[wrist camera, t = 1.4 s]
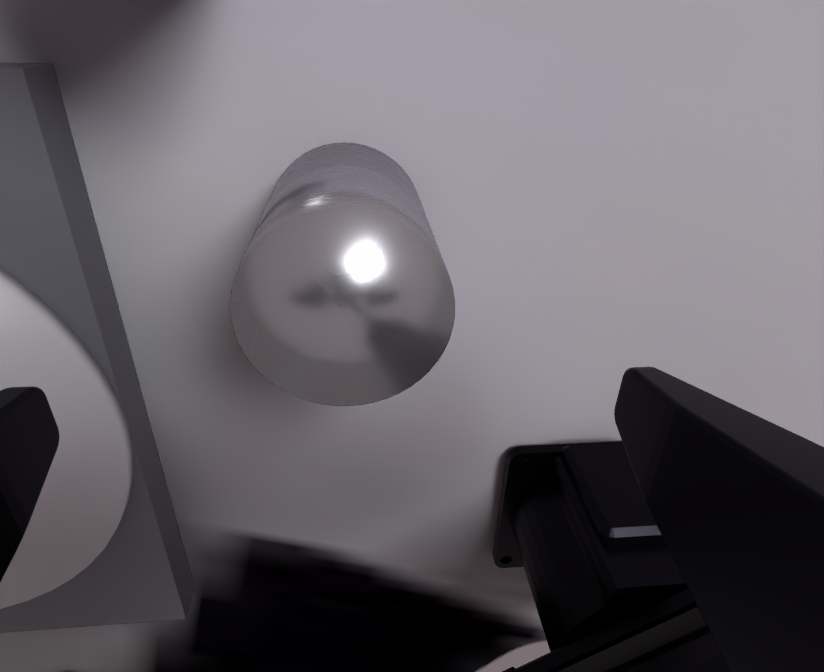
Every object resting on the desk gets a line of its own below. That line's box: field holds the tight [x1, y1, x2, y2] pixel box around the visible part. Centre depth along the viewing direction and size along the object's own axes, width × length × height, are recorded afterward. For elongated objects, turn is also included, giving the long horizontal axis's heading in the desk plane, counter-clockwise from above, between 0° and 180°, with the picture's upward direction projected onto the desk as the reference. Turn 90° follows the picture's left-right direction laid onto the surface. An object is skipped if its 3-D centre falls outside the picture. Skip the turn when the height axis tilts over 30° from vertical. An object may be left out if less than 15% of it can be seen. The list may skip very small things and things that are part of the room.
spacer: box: [230, 143, 455, 406], centre depth 13 cm, size 4×4×6 cm
